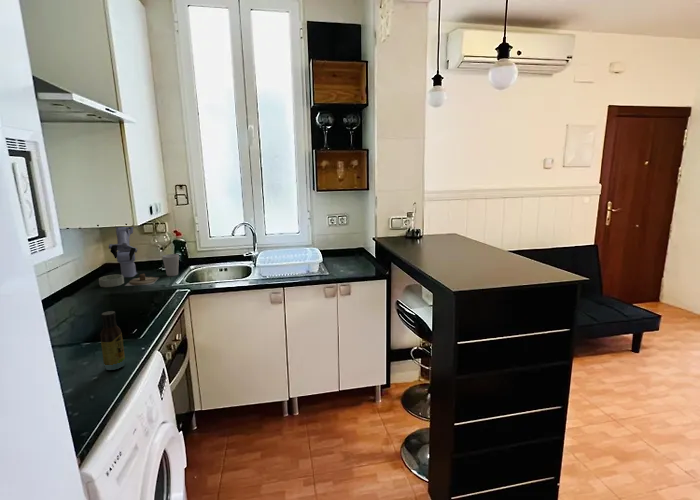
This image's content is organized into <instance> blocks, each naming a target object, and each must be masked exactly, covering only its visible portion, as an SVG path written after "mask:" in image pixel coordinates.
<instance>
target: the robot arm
mask: <svg viewBox="0 0 700 500" xmlns="http://www.w3.org/2000/svg"><path fill="white" fill-rule="evenodd" d="M129 229H130V230H129ZM115 233H116V238H117V239H116V240H117V243H116V244H115V243H114V244H113V243H111V244H110V243H109V245H108V249H109V251H110V253H111V254H112V255H113V257H114V259H116V262H117V263H118V264H120V272H121V273H120V275H123V276H124V278H134V277H135V276H136V275H138V272H137V267H136V263H135V261H136V254H135V253H137V252H138V248H137V247H134V246H132V245H130V244H131V243H130V238H131V235H132V234H134V226H133V227H116V226H115Z"/></svg>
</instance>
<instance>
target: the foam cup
mask: <svg viewBox="0 0 700 500" xmlns="http://www.w3.org/2000/svg"><path fill="white" fill-rule="evenodd" d="M161 257H162V263H163V265H164V269H165V272H166V276H167V277H175V276H178V275H179V266H180V265H179V261H180V260H179V259H180V255H179V254H178V253H170V254H164V255H162V256H161Z"/></svg>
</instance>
